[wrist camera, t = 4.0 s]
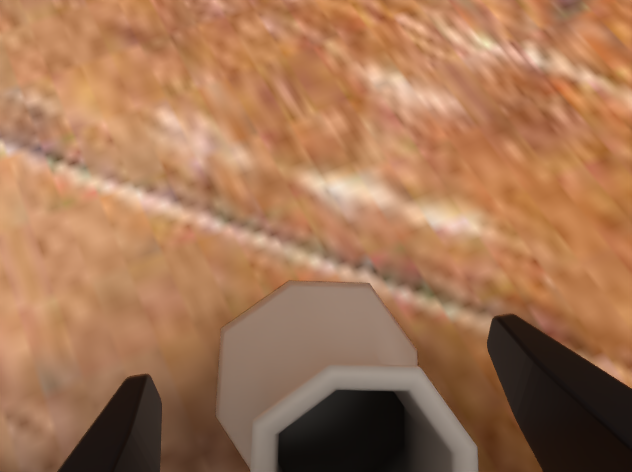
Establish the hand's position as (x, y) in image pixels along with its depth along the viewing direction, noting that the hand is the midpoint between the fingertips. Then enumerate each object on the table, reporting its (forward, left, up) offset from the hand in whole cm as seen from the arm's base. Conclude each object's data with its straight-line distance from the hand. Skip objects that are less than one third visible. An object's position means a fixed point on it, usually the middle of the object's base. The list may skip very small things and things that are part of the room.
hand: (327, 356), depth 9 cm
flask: (-1, -1, -7) cm, 7 cm away
